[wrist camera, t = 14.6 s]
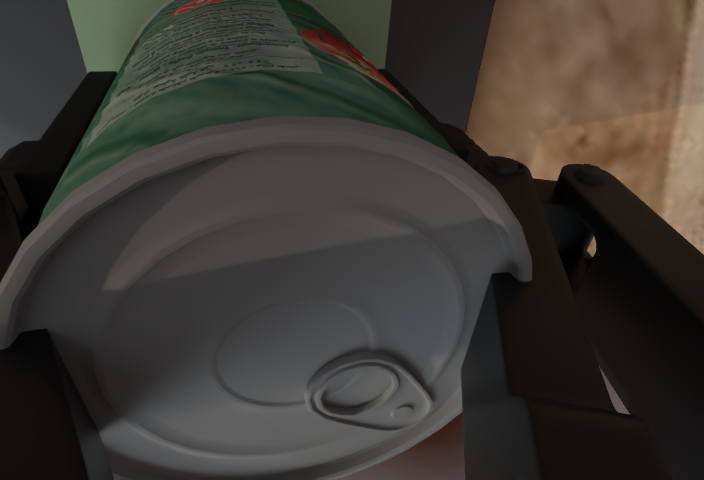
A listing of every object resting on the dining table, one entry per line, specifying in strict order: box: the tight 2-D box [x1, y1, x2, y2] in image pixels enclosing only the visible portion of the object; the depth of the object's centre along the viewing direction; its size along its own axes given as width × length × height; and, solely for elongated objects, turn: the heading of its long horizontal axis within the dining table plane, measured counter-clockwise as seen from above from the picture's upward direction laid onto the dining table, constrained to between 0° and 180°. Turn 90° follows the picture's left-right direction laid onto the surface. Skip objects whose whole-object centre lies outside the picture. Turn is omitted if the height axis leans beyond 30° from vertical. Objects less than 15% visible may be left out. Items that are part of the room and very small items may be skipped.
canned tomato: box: [0, 0, 532, 480], centre depth 11 cm, size 8×8×11 cm
